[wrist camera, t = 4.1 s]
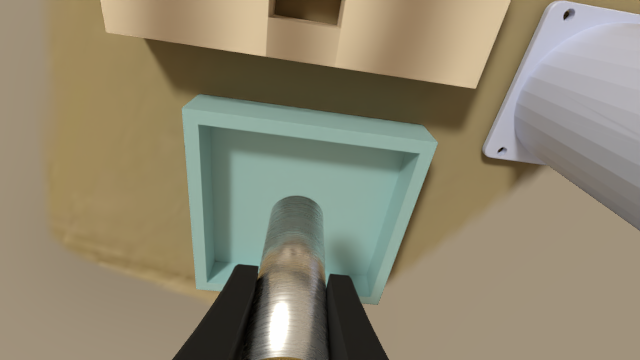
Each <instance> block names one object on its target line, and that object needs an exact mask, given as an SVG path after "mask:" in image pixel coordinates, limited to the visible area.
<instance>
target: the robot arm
mask: <svg viewBox="0 0 640 360" xmlns="http://www.w3.org/2000/svg"><path fill="white" fill-rule="evenodd" d="M567 10H569V15H568V17H567V18H566V19H565V20H564V19H563V15H564V13H565V12H566V11H567ZM502 147H503V150H502V151H500V152H498V150H499V149H500V148H502ZM482 151H483V153H484V154H485V155H486V156H487V157H490V158H496V159H504V160H511V161H519V162H526V163H534V164H541V165H548V166H550V167H551V168H553V169H554V170H555V171H557V172H558V173H560V174H561V175H562V176H564V177H565V178H567V179H568V180H569V181H571V182H572V183H574V184H575V185H576V186H578V187H579V188H581V189H582V190H583V191H585V192H586V193H588V194H589V195H590V196H592V197H593V198H595V199H596V200H597V201H599V202H600V203H602V204H603V205H605V206H606V207H607V208H609V209H610V210H612V211H613V212H614V213H616V214H617V215H618V216H620V217H621V218H623V219H624V220H625V221H627V222H628V223H630V224H631V225H632V226H634V227H635V228H637V229H638V230H639V231H640V15H639V14H633V13H628V12H622V11H617V10H612V9H606V8H601V7H595V6H590V5H584V4H579V3H574V2H568V1H554V2H552V3H551V4H550V5H548V6H547V8H546V9H545V11H544V13H543V15H542V17H541V19H540V22H539V24H538V26H537V28H536V31H535V33H534V35H533V37H532V39H531V42H530V44H529V46H528V48H527V50H526V53H525V55H524V57H523V59H522V61H521V64H520V66H519V68H518V70H517V72H516V75H515V77H514V79H513V81H512V83H511V86H510V88H509V90H508V92H507V95H506V97H505V99H504V101H503V103H502V106H501V108H500V110H499V112H498V114H497V117H496V119H495V121H494V123H493V125H492V128H491V130H490V132H489V134H488V136H487V139H486V141H485V143H484V145H483V148H482ZM258 269H259V266H254V265H244V264H238V265H236V266H235V267H234V269H233V271H232V273H231V275H230V277H229V279H228V280H227V282H226V284H225V286H224V287H223V289H222V291H221V292H220V294H219V295H218V297H217V299H216V300H215V302H214V303H213V305H212V306H211V308H210V309H209V311H208V312H207V313H206V315H205V316H204V318H203V319H202V321H201V322H200V324H199V325H198V327H197V328H196V329H195V331H194V332H193V333H192V335H191V336H190V337H189V339H188V340H187V341H186V342H185V344H184V345H183V346H182V348H181V349H180V350H179V352H178V353H177V354H176V355H175V357H174V358H173V359H172V360H241V356H242V351H243V346H244V341H245V336H246V331H247V326H248V322H249V318H250V313H251V309H252V305H253V300H254V295H255V290H256V285H257V280H258ZM326 300H327V326H328V351H329V360H389V359H388V357H387V355H386V353H385V351H384V350H383V348H382V346H381V344H380V342H379V340H378V338H377V336H376V334H375V332H374V330H373V328H372V326H371V324H370V321H369V319H368V317H367V315H366V313H365V310H364V308H363V306H362V304H361V301H360V299H359V297H358V294H357V292H356V289H355V287H354V284H353V281H352V279H351V277H350V276H349V275H339V274H330V275H329V279H328V282H327V286H326Z"/></svg>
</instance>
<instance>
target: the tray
mask: <svg viewBox="0 0 640 360" xmlns="http://www.w3.org/2000/svg"><path fill="white" fill-rule="evenodd" d="M182 116H183V128H184V141H185V153H186V165H187V178H188V190H189V203H190V215H191V228H192V240H193V253H194V265H195V277H196V289H201V290H213V291H222V289H223V287H224V286H225V284H226V282H227V280H228V279H229V277H230V275H231V273H232V271H233V269H234V267H235V266H236V265H238V264H244V265H254V266H259V268H260V263H261V258H262V253H263V248H264V243H265V238H266V233H267V228H268V224H269V219H270V214H271V210H272V208H273V206H274V205H275V204H276V203H277V202H278V201H279V200H281V199H282V198H285V197H288V196H295V195H298V196H304V197H308V198H310V199H312V200H313V201H315V202H316V203H317V204H318V205H319V206H320V208H321V209H322V212H323V223H324V248H325V274H326V286H327V282H328V279H329V275H330V274H339V275H349V276H350V277H351V279H352V281H353V284H354V287H355V289H356V292H357V294H358V297H359V299H360V301H361V303H363V304H374V305H378V303H379V301H380V298H381V295H382V293H383V290H384V287H385V284H386V282H387V279H388V276H389V274H390V271H391V268H392V265H393V263H394V260H395V257H396V255H397V252H398V249H399V247H400V244H401V241H402V238H403V236H404V233H405V230H406V228H407V225H408V222H409V220H410V217H411V214H412V211H413V209H414V206H415V203H416V201H417V198H418V195H419V193H420V190H421V187H422V184H423V182H424V179H425V176H426V174H427V171H428V168H429V166H430V163H431V160H432V157H433V155H434V152H435V149H436V147H437V144H438V142H437V141H436V140H435V139H434V138H433V136H432V135H431V134H430V133H429V132H428V131H427V129H426V128H425V127H424V126H423V125H419V124H412V123H405V122H398V121H391V120H384V119H376V118H369V117H362V116H355V115H348V114H341V113H334V112H326V111H319V110H312V109H305V108H298V107H291V106H284V105H277V104H269V103H262V102H255V101H248V100H241V99H234V98H227V97H220V96H212V95H205V94H198V95H197V96H196V97H195V98H193V99H192V100H191V101H190V102H189V103H187V104H186V105H185V106H184V107H183V108H182ZM258 273H259V269H258Z"/></svg>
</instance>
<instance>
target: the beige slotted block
mask: <svg viewBox="0 0 640 360" xmlns="http://www.w3.org/2000/svg"><path fill="white" fill-rule="evenodd" d="M100 1H101V6H102V12H103V17H104V22H105V28H106V32H109V33H115V34H122V35H128V36H135V37H141V38H148V39H154V40H161V41H167V42H174V43H180V44H187V45H194V46H200V47H207V48H213V49H220V50H226V51H233V52H239V53H246V54H252V55H259V56H265V57H272V58H278V59H285V60H291V61H298V62H304V63H311V64H318V65H324V66H331V67H337V68H344V69H350V70H357V71H363V72H370V73H376V74H383V75H389V76H396V77H402V78H409V79H415V80H422V81H428V82H435V83H442V84H448V85H455V86H461V87H468V88H474V89H476V86H477V84H478V81H479V79H480V76H481V74H482V71H483V69H484V66H485V64H486V61H487V59H488V56H489V54H490V51H491V49H492V46H493V44H494V41H495V39H496V36H497V34H498V31H499V29H500V26H501V24H502V21H503V19H504V16H505V14H506V11H507V9H508V6H509V4H510V1H511V0H341V4H340V10H339V16H338V23H337V25H334V24H328V23H322V22H316V21H310V20H304V19H298V18H292V17H286V16H280V15H275V4H276V0H100Z"/></svg>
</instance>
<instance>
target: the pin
mask: <svg viewBox="0 0 640 360" xmlns="http://www.w3.org/2000/svg"><path fill="white" fill-rule="evenodd" d="M241 360H329V351H328V326H327V300H326V274H325V248H324V223H323V212H322V209H321V208H320V206H319V205H318V204H317V203H316V202H315V201H313V200H312V199H310V198H308V197H304V196H298V195H295V196H288V197H285V198H282V199H281V200H279V201H278V202H277V203H276V204H275V205H274V206H273V208H272V210H271V214H270V219H269V224H268V228H267V233H266V238H265V243H264V248H263V253H262V258H261V263H260V268H259V273H258V280H257V285H256V290H255V295H254V300H253V305H252V309H251V313H250V318H249V322H248V326H247V331H246V336H245V341H244V346H243V351H242V356H241Z"/></svg>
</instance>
